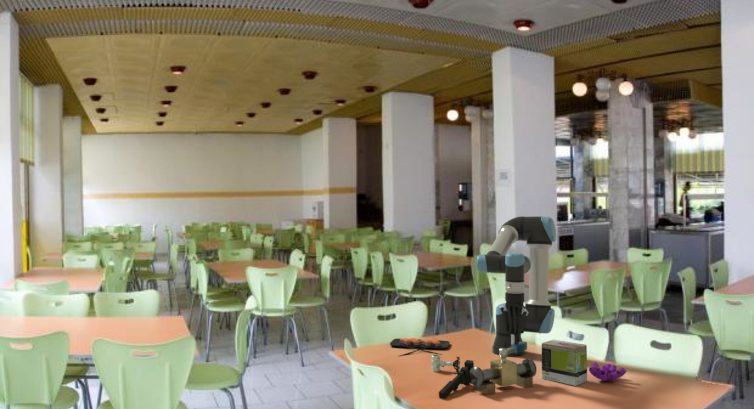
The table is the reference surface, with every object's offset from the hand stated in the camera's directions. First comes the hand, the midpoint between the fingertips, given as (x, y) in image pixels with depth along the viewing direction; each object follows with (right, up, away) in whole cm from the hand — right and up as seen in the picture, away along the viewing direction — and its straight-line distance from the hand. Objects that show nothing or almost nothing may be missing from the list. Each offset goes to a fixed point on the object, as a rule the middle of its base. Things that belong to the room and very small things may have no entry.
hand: (514, 350), depth 240 cm
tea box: (+20, -12, -1) cm, 23 cm away
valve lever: (-2, 0, -5) cm, 5 cm away
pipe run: (-7, -12, -10) cm, 17 cm away
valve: (-27, -12, +12) cm, 32 cm away
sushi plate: (-36, -12, +50) cm, 62 cm away
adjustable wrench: (-25, -13, -12) cm, 30 cm away
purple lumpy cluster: (+36, -12, -2) cm, 38 cm away
